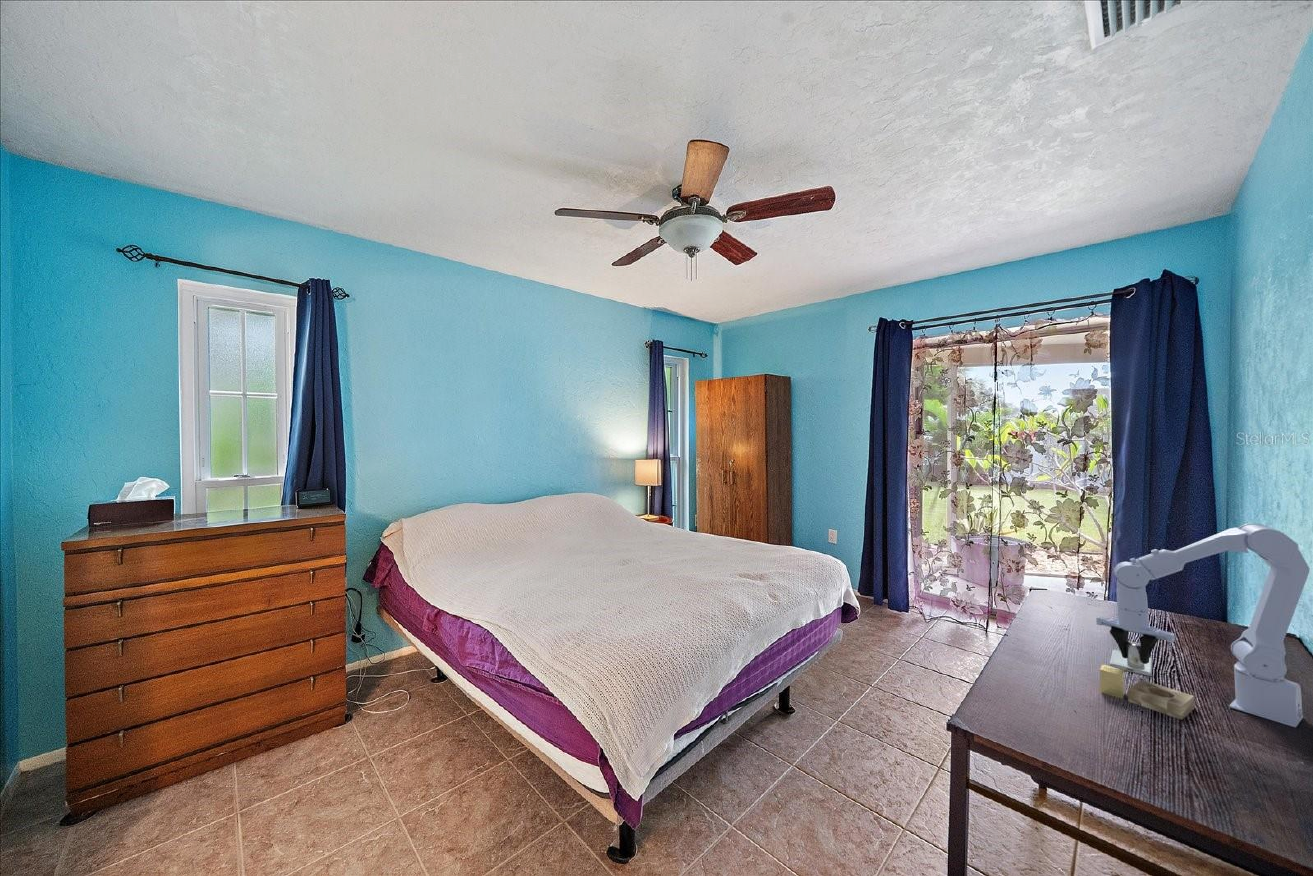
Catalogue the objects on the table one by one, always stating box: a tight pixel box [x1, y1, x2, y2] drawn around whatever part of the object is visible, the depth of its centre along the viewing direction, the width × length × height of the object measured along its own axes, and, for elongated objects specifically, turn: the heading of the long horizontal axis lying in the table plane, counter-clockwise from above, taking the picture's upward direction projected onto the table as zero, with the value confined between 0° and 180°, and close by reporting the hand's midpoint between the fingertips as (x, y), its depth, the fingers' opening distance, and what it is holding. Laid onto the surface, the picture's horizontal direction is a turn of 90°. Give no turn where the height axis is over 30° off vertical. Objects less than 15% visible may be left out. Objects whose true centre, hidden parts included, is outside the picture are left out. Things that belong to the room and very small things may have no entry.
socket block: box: [1127, 679, 1195, 721], centre depth 113 cm, size 9×9×3 cm
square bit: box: [1099, 664, 1126, 700], centre depth 119 cm, size 4×4×6 cm
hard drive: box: [1109, 649, 1153, 677], centre depth 133 cm, size 2×8×12 cm
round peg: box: [1126, 641, 1145, 670], centre depth 122 cm, size 3×3×6 cm
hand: (1135, 659), depth 122 cm, fingers closed on round peg, 3 cm apart
